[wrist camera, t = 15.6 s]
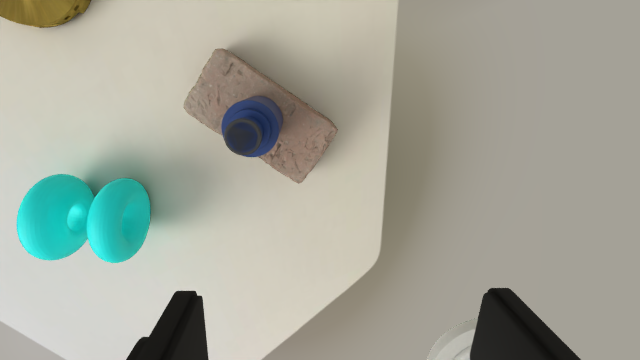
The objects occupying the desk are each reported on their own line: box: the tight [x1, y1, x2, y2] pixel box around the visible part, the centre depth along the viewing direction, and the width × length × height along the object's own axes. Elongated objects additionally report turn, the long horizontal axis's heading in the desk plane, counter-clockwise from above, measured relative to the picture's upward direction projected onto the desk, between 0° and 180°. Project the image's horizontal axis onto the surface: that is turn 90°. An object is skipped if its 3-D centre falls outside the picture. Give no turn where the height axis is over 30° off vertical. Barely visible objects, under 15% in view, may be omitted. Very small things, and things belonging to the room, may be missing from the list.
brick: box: [184, 49, 338, 183], centre depth 37 cm, size 17×8×5 cm, turn 56°
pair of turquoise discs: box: [17, 174, 151, 263], centre depth 37 cm, size 10×10×10 cm
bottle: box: [221, 96, 283, 157], centre depth 30 cm, size 5×5×11 cm
